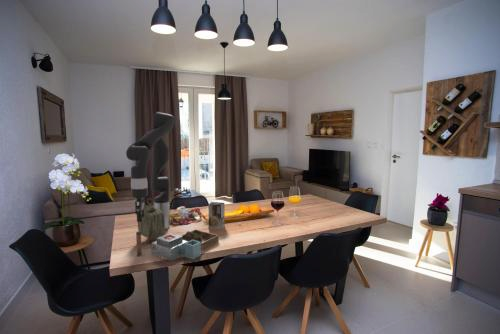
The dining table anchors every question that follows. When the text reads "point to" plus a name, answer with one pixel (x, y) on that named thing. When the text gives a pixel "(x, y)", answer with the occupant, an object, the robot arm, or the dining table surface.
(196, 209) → the food tray
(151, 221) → the green backpack
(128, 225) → the dining table surface
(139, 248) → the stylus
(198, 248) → the pen cup
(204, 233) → the frame
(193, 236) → the seashell
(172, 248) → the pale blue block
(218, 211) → the coffee box
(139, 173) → the robot arm
